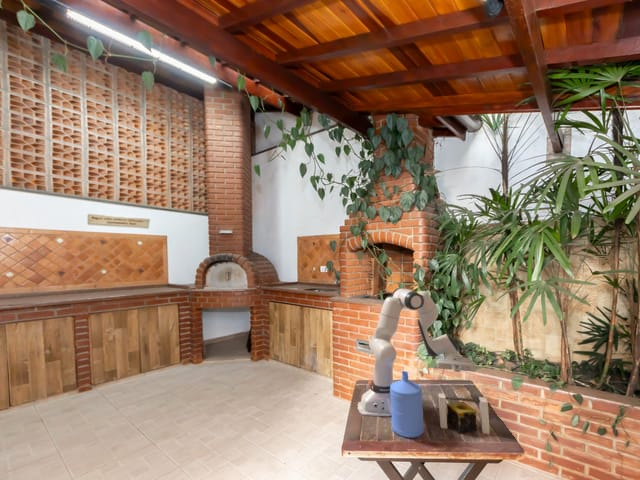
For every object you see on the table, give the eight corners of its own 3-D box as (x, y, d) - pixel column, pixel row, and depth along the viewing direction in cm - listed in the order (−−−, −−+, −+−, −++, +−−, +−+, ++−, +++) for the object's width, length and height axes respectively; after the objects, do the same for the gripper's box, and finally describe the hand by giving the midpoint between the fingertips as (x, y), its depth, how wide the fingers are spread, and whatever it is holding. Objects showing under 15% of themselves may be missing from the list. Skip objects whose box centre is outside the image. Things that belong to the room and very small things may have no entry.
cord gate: (440, 427, 152) (439, 397, 153) (440, 422, 157) (438, 392, 157) (489, 433, 145) (487, 402, 146) (487, 428, 150) (485, 397, 151)
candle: (446, 423, 156) (445, 403, 157) (464, 420, 158) (463, 400, 158) (459, 434, 146) (458, 413, 147) (477, 431, 148) (476, 410, 148)
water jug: (426, 440, 142) (423, 379, 144) (392, 437, 146) (389, 377, 147) (421, 421, 158) (419, 367, 159) (391, 419, 161) (388, 366, 162)
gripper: (435, 354, 180) (436, 362, 167) (473, 357, 174) (477, 366, 161) (435, 365, 180) (437, 374, 167) (473, 368, 174) (478, 378, 161)
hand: (457, 370), depth 164 cm, fingers closed
